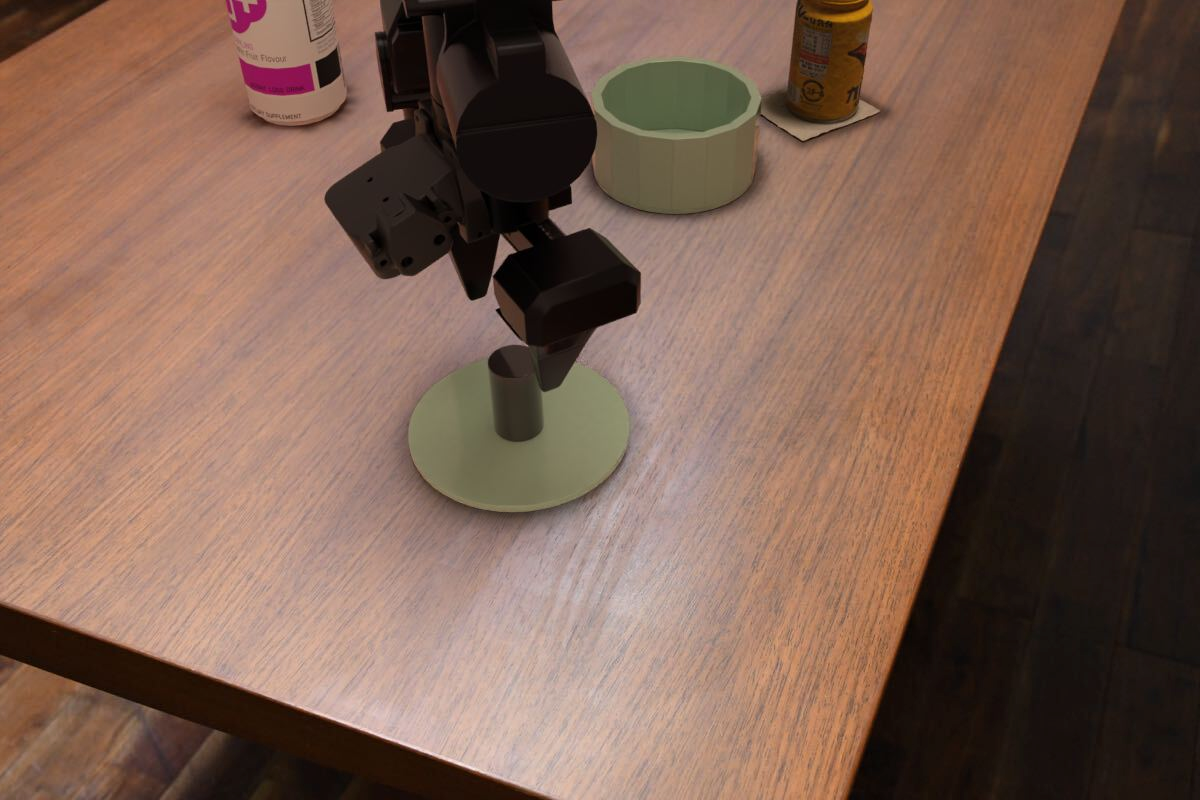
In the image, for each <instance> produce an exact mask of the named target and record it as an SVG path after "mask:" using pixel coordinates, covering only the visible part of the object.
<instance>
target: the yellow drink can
mask: <svg viewBox="0 0 1200 800" xmlns="http://www.w3.org/2000/svg"><path fill="white" fill-rule="evenodd" d="M873 7H874V6H873V2H872V1H871V0H797V1H796V4H795V12H794V21H793V22H794V24H793V33H792V41H791V52H790V59H789V60H790V62H789V72H788V81H787V88H785V89H783V90H777V91H775V92H773V93H771V94H768V95H765V96H763V97H762V104H761V115H762V116H763V117H764V118H765V119H767V120H769V121H770V122H772V123H774V124H775V125H777V128H781V129H783V130H785V131H786V132H787V133H789V134H790V135H792V136H794V137H796V138H797V139H799V140H801V141H802V142H804V141H807V140H809V139H810V138H815V137H817V136H819V135H820V134H821V135H822V134H824V133H828V132H830V131H832V130H836V129H838V128H843V127H845V126H848V125H850V124H853V123H855V122H858V121H860V120H863V119H866V118H868V117H871V116H874V115H876V114H878V113H879V112H881V109H878V108H877V107H875V106H874V105H872V104H870V103H868V102H865V101H864V100H862V99H861V94H862V93H861V92H862V87H863V80H864V73H865V65H866V58H867V52H868V51H867V50H868V44H869V38H870V31H871V24H872V21H873V11H874V10H873V9H874V8H873Z"/></svg>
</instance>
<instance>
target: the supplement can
mask: <svg viewBox="0 0 1200 800" xmlns="http://www.w3.org/2000/svg"><path fill="white" fill-rule="evenodd" d="M225 4H226V9H227V14H228V18H229V22H230V27H231V30H232V34H233V39H234V43H235V48H236V52H237V56H238V60H239V64H240V65H239V66H240V69H241V74H242V78H243V82H244V87H245V90H246V95H247V100H248V103H249V109H250V110H251V111H252V112H253V113H254V114H256V115H257V117H260V118H262V119H263V120H264V121H266V122H268V123H271V124H274V125H279V126H288V127H293V126H295V127H296V126H306V125H311V124H313V123H317V122H321V121H323V120H325V119H327V118H328V117H331V116H332V115H334V114H335V113H336V112H337V111H338V110H340V107H341V105H343V104H344V103H345V101H346V99H347V96H348V89H347V83H346V77H345V71H344V65H343V60H342V59H343V58H342V54H341V53H342V52H341V48H340V41H339V36H338V30H337V25H336V24H337V23H336V19H335V12H334V7H333V1H332V0H225Z"/></svg>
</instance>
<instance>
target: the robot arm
mask: <svg viewBox="0 0 1200 800" xmlns="http://www.w3.org/2000/svg"><path fill="white" fill-rule="evenodd" d="M559 1H562V0H379V6H380V15H381V22H382V31H374V41H375V54H376V61H377V68H378V75H379V80H380V87H381V92H382V96H383V100H384V105H385V110H386V113H391V112H392V113H393V112H394V111H398V110H402V114H403V115H402V116H403V119H401V120H398V121H395V122H392V124H390V126H389V127H388V129H387V131H386V132H385V134H384V135H382V136H383V137H382V138H381V140H380V141H379V146H380V152H379V153H378V154H376V155H375V156H374V157H372V158H370V159H369V160H368V161H366V162H364V163H363V164H361V165H360V166H359V167H357V168H356V169H354V170H353V171H351V172H349V173H348V174H346V175H345V176H343V177H342V178H341V179H339V180H337V181H336V182H335V183H333V184H331V185H330V187H329V188H328V189H327V190H326V193H325V195H324V204H325V205H326V207H327V208H328V210H329V211H330V212H331V214H332V215H333V217H334V218H335V220H336V221H337V223H338V224H339V225H340V227H341V228H342V230H343V232H344V233H345V234H346V235H347V237H348V238H349V240H350V241H351V243H352V244H353V245H354V247H355V249H356V250H357V251H358V253H359V254H360V256H361V257H362V258H363V260H364V261H365V262H366V264H367V265H368V267H369V268H370V270H372V272H373V274H374V275H375V276H376V277H377V278H378V279H381V280H391V279H394V278H397V277H399V276H401V275H402V276H404V277H415V276H417V275H418V274H420V273H421V272H423V271H424V270H426V269H427V268H429V267H430V266H432V265H434V264H435V263H436V262H437V261H439V260H440V259H442V258H444V256H446V255H448V256H449V259H450V260H451V263H452V265H453V268H454V270H455V272H456V275H457V277H458V280H459V282H460V284H461V287H462V289H463V292H464V293H465V296H466V297H467V298H468V300H469V301H471V302H473V301H476V300H480V299H482V298H485V297H486V296H487V295H488V292H489V287H490V284H491V280H492V283H493V284H492V285H493V293H494V297H495V300H496V302H497V305H498V307H497V308H495V309H494V310H495V312H496V313H497V315H498V316H499V317H500V319H501V320H502V321H503V323H505V324H506V326H508V328H509V330H510V331H511V332H512V333H513V334H514V336H515V337H516V338H517V339H518V340H520V341H521V342H523V343H524V344H525V346H527V347H528V348H529V352H530V356H531V360H532V364H533V368H534V371H535V375H536V378H537V381H538V384H539V387H540V389H541V390H542V391H543V392H548V391H550V390H553V389H555V388H558V387H559V386H560V385H561V384H562V382H563V381H564V379H565V378H566V376H567V374H568V373H569V371H570V369H571V368H572V366H573V364H574V363H575V362H577V360H578V358H579V356H580V355H581V353H582V352H583V349H584V348H585V346H586V345H587V343H588V342H589V340H590V338H591V337H592V335H593V334H594V332H595V331H596V330H597V329H598V328H600V327H603V326H607V325H608V324H611V323H614V322H617V321H619V320H621V319H624V318H627V317H629V316H632V315H635V314H637V313H638V311H639V308H640V306H641V304H642V272H641V271H640V270H639V269H638V268H637V267H636V266H635V265H634V264H633V263H632V262H631V261H630V260H629V259H628V258H627V257H626V256H625V255H624V254H623V253H622V252H621V251H620V250H619V249H618V248H617V247H616V246H615V244H613V243H612V242H611V241H610V240H609V239H608V238H607V237H606V236H604V235H603V234H601V233H599V232H597V231H596V230H594V229H592V228H591V227H587V228H584V229H581V230H579V231H575V232H573V233H569V234H566V233H565V232H564V231H563V230H562V229H561V228H560V227H559V226H558V225H557V224H556V222H554V221H553V219H552V218H550V211H553V210H557V209H560V208H563V207H566V206H569V205H571V204H573V194H572V186H571V185H572V184H573V183H574V182H575V181H577V180H578V179H579V178H580V177H581V176H582V174H583V173H584V171H585V170H586V169H587V168H588V166H589V164H590V163H591V161H592V156H593V153H594V151H595V147H596V140H597V123H596V120H595V116H594V114H593V111H592V109H591V103H590V102H589V100H588V97H587V95H586V93H585V91H584V89H583V87H582V85H581V82H580V80H579V78H578V76H577V74H576V72H575V69H574V67H573V65H572V63H571V61H570V58H569V57H568V54H567V52H566V50H565V48H564V46H563V43H562V41H561V39H560V37H559V36H558V33H557V32H556V27H555V24H554V14H553V13H554V12H553V2H559ZM501 237H502V238H504V240H505V241H506V243H508V244H509V246H511V247H512V249H513V250H514V251H515V252H512V253H510V254H508V255H507V256H506V258H505V259H503V261H502V263H501V265H499V267H498V268H497V269H496V271H495V272H494V268H495V263H496V257H497V253H498V248H499V242H500V238H501Z"/></svg>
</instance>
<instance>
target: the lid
mask: <svg viewBox="0 0 1200 800" xmlns="http://www.w3.org/2000/svg"><path fill="white" fill-rule="evenodd" d="M410 416H411V417H410V420H409V423H408V430H407V431H408V432H407V439H408V440H407V441H408V448H409V452H410V456H411V460H412V462H413V464H414V465H415V468H416V470H417V471H418V473H419V475H421V476H422V478H423V479H424V480H425V481H426V482H427V483H428V484H429V485H430V486H431V487H432V488H433V489H435V490H436V491H438V492H439V493H441V494H442V495H444V496H445V497H447V498H450V499H451V500H453V501H455V502H458V503H460V504H463V505H466V506H468V507H472V508H476V509H479V510H485V511H491V512H498V513H499V512H500V513H502V512H503V513H524V512H533V511H539V510H545V509H550V508H553V507H558V506H561V505H563V504H566V503H569V502H571V501H574V500H575V499H578V498H580V497H582V496H585V495H586V494H587V493H589V492H590V491H592V490H593V489H595V488H597V487H598V486H599V485H600V484H602V483H603V482H604V481H605V480H607V479H608V478H609V476H610V475H612V474H613V472H614V471H615V470H616V468H617V467H618V465H619V464H620V463H621V461H622V459H623V457H624V456H625V453H626V451H627V448H628V445H629V441H630V432H631V431H630V430H631V424H630V415H629V411H628V408H627V406H626V403H625V401H624V399H623V397H622V395H621V394H620V393H619V392H618V390H617V389H616V387H615V386H614V385H613V384H612V383H611V382H609V380H608V379H606V378H605V377H604V376H602V375H601V374H600V373H598V372H597V371H596V370H593V369H591V368H590V367H588V366H586V365H583V364H582V363H579V362H577V361H575V363H574V364H573V366H572V368H571V369H570V371H569V373H568V374H567V376H566V378H565V379H564V381H563V382H562V384H561V385H560V386H559V387H558V388H555V389H553V390H550V391H548V392H543V391H542V390H541V389H540V387H539V384H538V381H537V378H536V375H535V371H534V368H533V364H532V360H531V356H530V352H529V348H528V345H523V344H508V345H504V346H501V347H499V348H497V349H495V350H493V352H491V353H490V355H489V357H487V358H484V359H481V360H477V361H474V362H471V363H468V364H467V365H464V366H462V367H459V368H458V369H456V370H454V371H452V372H450V373H448V374H447V375H445V376H444V377H442V378H441V379H440V380H438V381H436V383H435V384H433V385H432V386H431V387H430V388H428V390H427V391H426V392H425V393H424V395H422V397H421V398H420V400H419V401H418V403H417V404H416V405H415V408H414V409H413V412H412V414H411V415H410Z"/></svg>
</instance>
